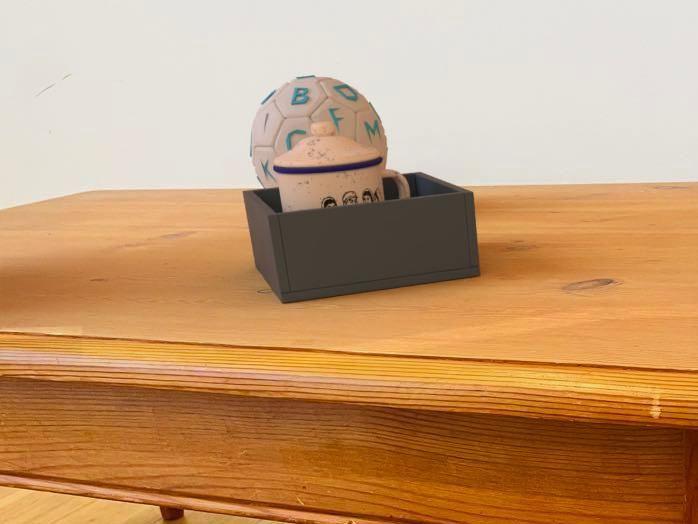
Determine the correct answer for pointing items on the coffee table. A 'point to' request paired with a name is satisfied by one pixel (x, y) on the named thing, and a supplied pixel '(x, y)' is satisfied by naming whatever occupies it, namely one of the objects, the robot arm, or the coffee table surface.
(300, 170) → the teacup with lid
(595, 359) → the coffee table surface
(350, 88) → the puzzle ball
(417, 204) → the bin
